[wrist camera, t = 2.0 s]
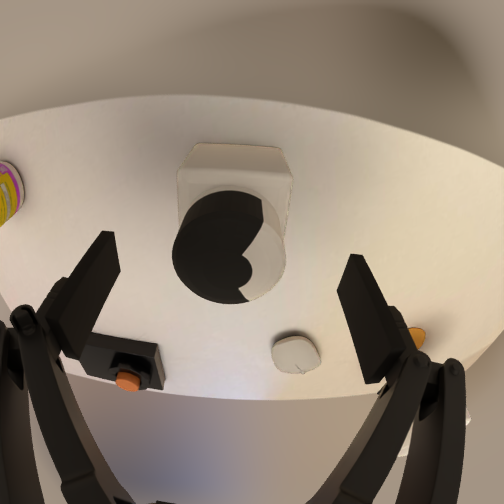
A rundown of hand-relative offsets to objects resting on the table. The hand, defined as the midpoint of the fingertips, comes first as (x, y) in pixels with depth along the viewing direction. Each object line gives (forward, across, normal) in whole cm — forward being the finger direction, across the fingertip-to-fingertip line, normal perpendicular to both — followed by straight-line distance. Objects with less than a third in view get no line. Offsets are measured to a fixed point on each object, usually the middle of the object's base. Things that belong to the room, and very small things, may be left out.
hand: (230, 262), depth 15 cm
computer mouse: (+11, +10, -22) cm, 27 cm away
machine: (+11, -16, -29) cm, 35 cm away
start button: (+8, -14, -29) cm, 33 cm away
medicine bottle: (+11, 0, 0) cm, 11 cm away
